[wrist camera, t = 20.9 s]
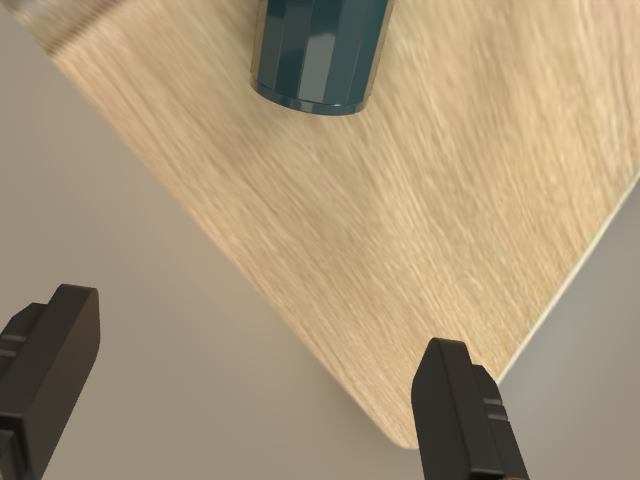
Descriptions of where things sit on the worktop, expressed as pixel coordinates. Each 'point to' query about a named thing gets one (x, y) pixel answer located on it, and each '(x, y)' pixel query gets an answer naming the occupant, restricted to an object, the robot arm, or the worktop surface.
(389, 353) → the worktop surface
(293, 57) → the cup
